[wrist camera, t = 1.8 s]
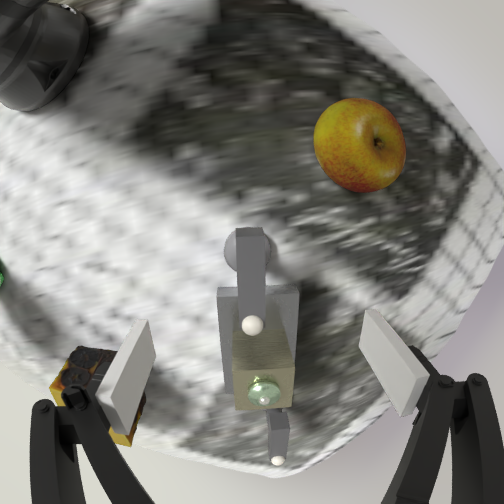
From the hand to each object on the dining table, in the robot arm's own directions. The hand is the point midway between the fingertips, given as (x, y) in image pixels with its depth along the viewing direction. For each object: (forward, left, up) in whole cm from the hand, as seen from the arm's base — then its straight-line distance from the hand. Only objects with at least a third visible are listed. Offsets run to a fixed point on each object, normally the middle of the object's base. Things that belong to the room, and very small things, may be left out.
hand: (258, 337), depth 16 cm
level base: (+12, +1, -16) cm, 20 cm away
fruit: (-12, +11, -17) cm, 23 cm away
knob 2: (+23, +3, -16) cm, 28 cm away
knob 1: (0, 0, -16) cm, 16 cm away
